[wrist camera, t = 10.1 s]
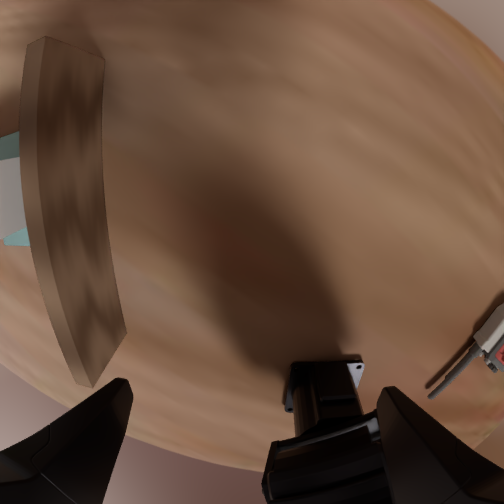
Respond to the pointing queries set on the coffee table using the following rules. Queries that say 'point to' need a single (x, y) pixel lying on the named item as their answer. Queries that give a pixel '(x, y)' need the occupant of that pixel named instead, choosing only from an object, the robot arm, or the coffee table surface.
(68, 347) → the walnut screen
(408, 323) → the coffee table surface
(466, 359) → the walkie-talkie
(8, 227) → the white rectangular block
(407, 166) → the coffee table surface
